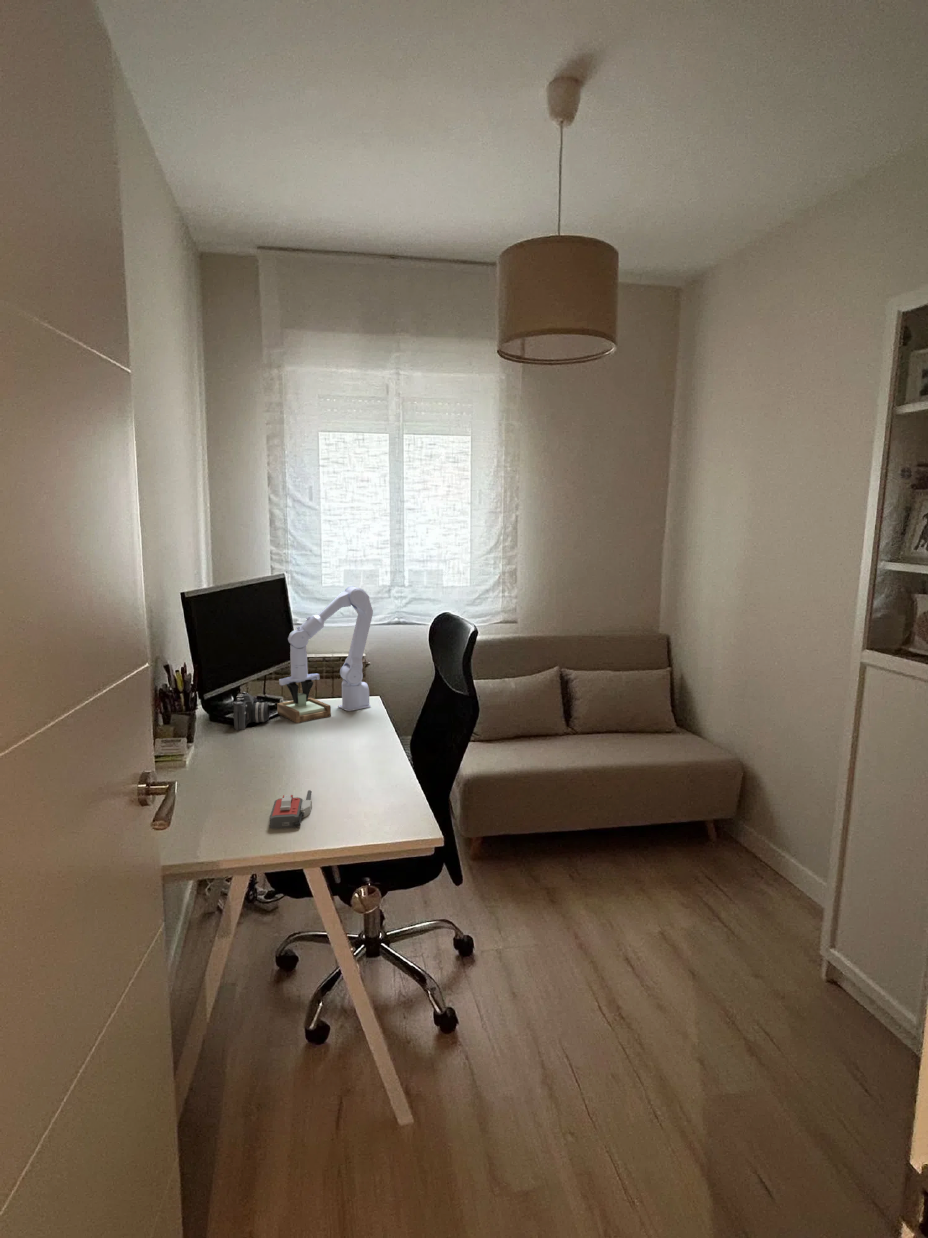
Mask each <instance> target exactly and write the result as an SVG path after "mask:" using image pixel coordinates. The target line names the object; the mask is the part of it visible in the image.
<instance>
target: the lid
mask: <svg viewBox="0 0 928 1238" xmlns="http://www.w3.org/2000/svg"><path fill="white" fill-rule="evenodd" d="M286 706H288V707H291V708H293V709H295V710H297V711H299V714H300V715H304V714H310V713H315V712H320V711H325V708H324V707H322V706H319V705H317V704H315V703H312V702H310V701H307V702H306V694H304V693H303V692H300V693H299V692H298V703H297V704H296V703H295V704H290V705H286Z"/></svg>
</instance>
